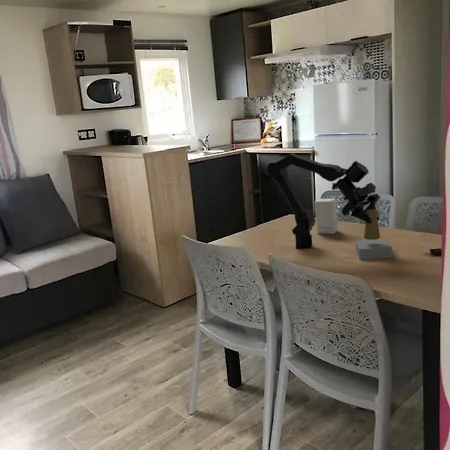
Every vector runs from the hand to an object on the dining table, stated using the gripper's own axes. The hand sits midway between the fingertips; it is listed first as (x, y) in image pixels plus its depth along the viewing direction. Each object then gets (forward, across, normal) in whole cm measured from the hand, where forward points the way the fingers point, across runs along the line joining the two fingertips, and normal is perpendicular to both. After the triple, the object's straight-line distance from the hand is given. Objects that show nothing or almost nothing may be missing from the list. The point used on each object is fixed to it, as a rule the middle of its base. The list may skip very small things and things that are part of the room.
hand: (374, 221), depth 189 cm
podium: (+9, +1, +10) cm, 13 cm away
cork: (+4, 0, +6) cm, 7 cm away
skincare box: (-16, +17, +36) cm, 43 cm away
